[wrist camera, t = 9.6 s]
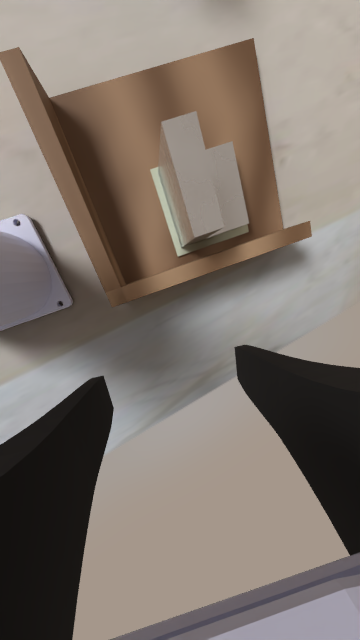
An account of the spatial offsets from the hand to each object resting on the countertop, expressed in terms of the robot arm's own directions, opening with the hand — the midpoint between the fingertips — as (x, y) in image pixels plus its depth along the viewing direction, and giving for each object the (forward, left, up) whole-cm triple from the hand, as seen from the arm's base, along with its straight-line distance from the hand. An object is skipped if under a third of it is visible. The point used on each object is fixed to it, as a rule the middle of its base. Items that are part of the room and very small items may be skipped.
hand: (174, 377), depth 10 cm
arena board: (+6, +12, -10) cm, 16 cm away
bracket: (+7, +10, -9) cm, 15 cm away
